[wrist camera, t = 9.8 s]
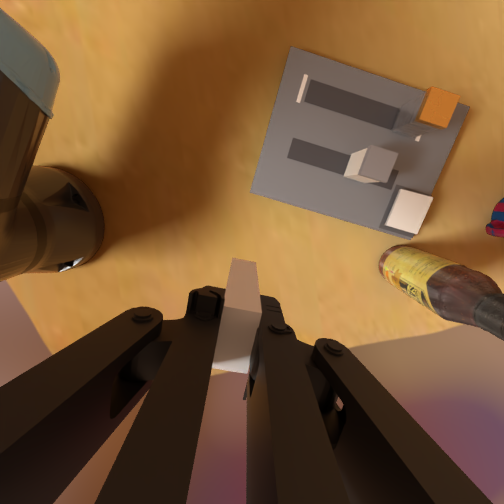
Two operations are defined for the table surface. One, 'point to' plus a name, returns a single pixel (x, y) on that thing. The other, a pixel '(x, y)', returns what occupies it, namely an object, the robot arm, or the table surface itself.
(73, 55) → the table surface
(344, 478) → the robot arm
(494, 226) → the mug
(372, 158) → the slider cream
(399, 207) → the block
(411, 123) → the block
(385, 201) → the panel
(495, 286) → the sauce bottle
